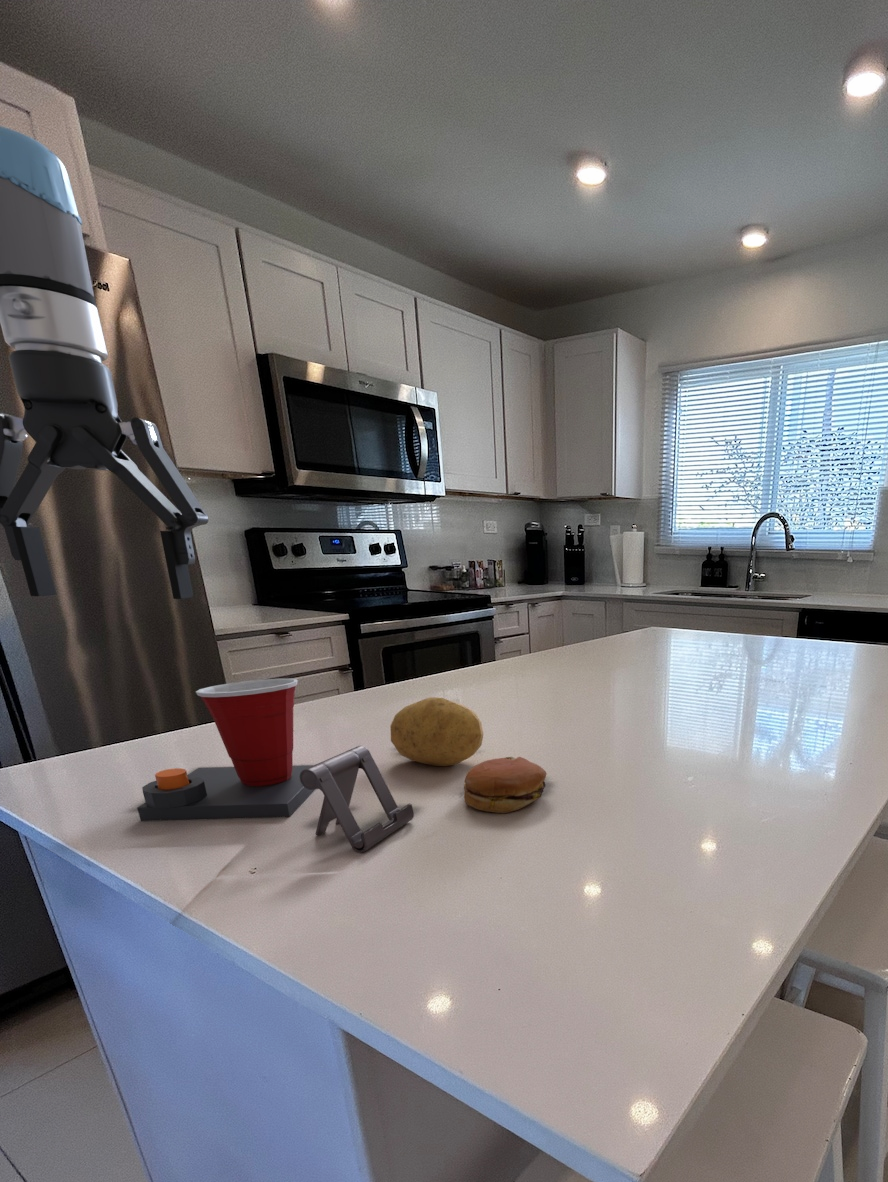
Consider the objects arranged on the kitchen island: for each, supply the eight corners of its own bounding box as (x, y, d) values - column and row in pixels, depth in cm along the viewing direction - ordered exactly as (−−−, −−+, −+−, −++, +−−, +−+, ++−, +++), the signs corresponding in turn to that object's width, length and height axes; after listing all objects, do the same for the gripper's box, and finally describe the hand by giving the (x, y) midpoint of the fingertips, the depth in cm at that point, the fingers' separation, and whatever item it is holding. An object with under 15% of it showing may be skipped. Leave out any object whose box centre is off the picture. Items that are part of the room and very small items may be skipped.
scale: (138, 823, 72) (130, 793, 71) (201, 779, 86) (195, 754, 84) (288, 819, 74) (283, 790, 72) (327, 777, 87) (323, 751, 86)
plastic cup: (283, 759, 88) (267, 670, 84) (330, 775, 83) (316, 680, 78) (199, 781, 80) (176, 683, 76) (245, 800, 74) (223, 695, 70)
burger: (464, 816, 74) (462, 777, 73) (465, 789, 83) (463, 753, 81) (551, 811, 76) (550, 773, 74) (543, 785, 85) (542, 750, 83)
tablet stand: (366, 855, 65) (355, 775, 62) (300, 845, 67) (286, 767, 64) (414, 822, 73) (407, 750, 70) (354, 814, 75) (344, 743, 72)
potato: (414, 688, 96) (374, 694, 87) (496, 699, 92) (463, 708, 84) (414, 751, 99) (375, 763, 90) (494, 765, 95) (462, 779, 86)
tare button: (153, 792, 73) (149, 777, 72) (167, 782, 75) (163, 768, 75) (181, 791, 73) (177, 776, 72) (194, 782, 76) (191, 767, 75)
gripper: (-128, 336, 56) (-46, 596, 64) (182, 354, 58) (225, 601, 66) (-55, 359, 63) (11, 591, 70) (219, 374, 65) (254, 596, 73)
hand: (114, 597), depth 68 cm, fingers open, 13 cm apart
